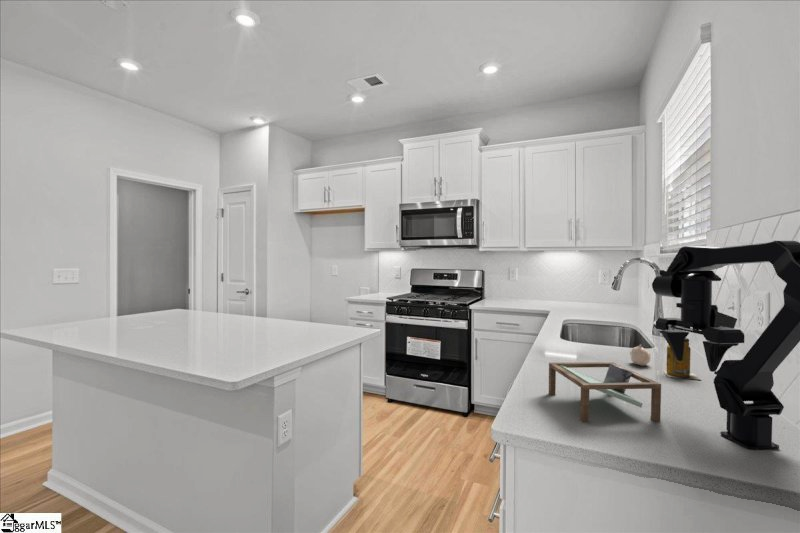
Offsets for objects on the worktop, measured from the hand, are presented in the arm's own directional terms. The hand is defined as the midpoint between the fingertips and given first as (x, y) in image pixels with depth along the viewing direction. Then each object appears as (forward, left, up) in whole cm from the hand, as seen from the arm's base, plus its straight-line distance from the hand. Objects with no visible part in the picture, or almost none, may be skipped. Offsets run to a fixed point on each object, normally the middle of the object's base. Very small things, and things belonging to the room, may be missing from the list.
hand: (695, 365), depth 89 cm
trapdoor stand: (+6, +19, -12) cm, 23 cm away
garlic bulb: (+41, -16, -12) cm, 46 cm away
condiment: (+29, -21, -12) cm, 38 cm away
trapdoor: (+6, +20, -7) cm, 22 cm away
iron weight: (+6, +16, -7) cm, 19 cm away
